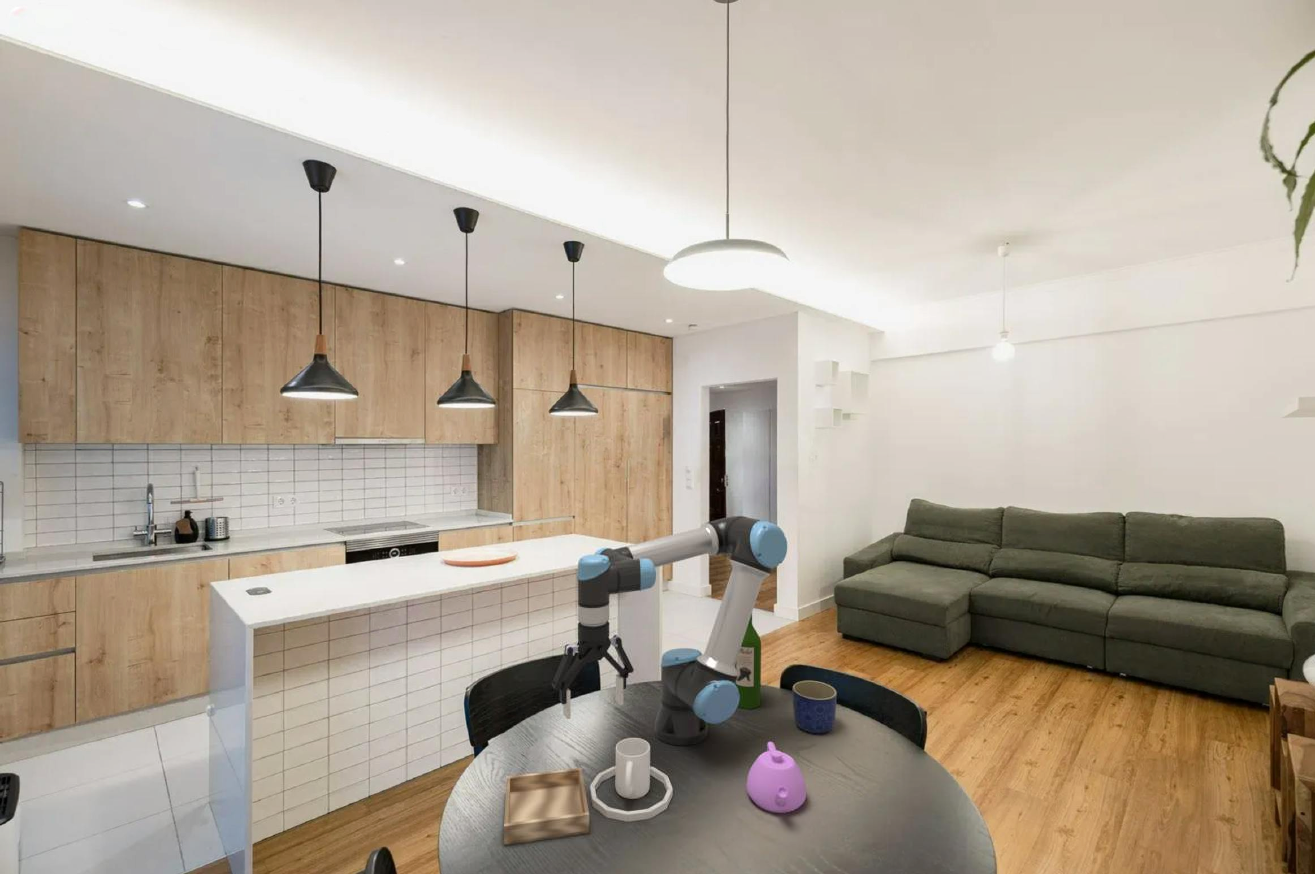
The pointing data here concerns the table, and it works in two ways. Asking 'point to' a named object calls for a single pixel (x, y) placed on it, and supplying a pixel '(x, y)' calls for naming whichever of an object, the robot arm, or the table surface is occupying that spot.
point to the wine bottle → (749, 669)
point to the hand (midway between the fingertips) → (593, 709)
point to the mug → (632, 768)
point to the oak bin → (545, 806)
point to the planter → (814, 706)
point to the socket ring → (631, 814)
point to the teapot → (776, 782)
